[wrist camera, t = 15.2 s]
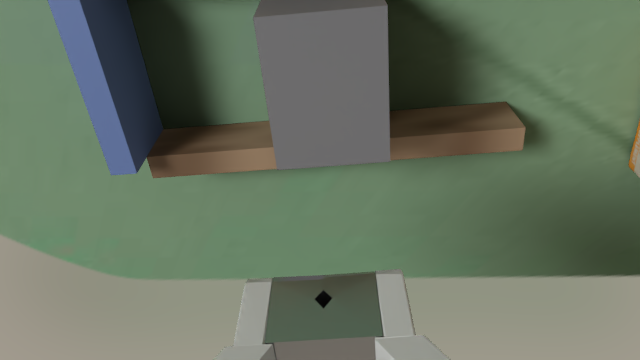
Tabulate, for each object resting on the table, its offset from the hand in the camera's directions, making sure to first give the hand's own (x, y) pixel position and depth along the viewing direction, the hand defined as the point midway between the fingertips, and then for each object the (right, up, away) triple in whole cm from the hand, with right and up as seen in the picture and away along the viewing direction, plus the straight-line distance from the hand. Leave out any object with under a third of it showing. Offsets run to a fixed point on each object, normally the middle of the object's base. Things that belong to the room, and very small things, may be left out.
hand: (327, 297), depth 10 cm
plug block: (0, +9, +14) cm, 17 cm away
